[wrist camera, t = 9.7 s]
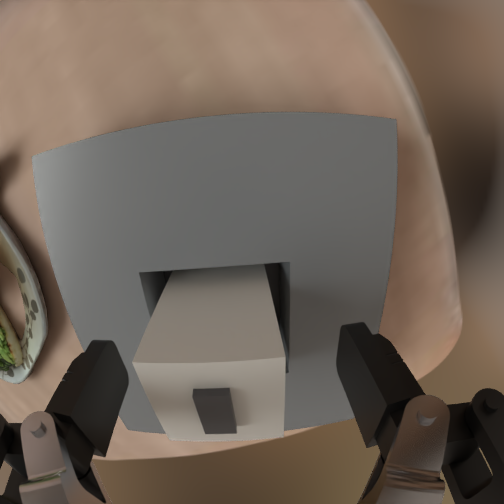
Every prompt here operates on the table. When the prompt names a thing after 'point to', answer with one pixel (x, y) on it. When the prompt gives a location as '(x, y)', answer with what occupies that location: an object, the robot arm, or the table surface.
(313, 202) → the outlet box
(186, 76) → the table surface
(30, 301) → the avocado toast plate
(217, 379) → the block
